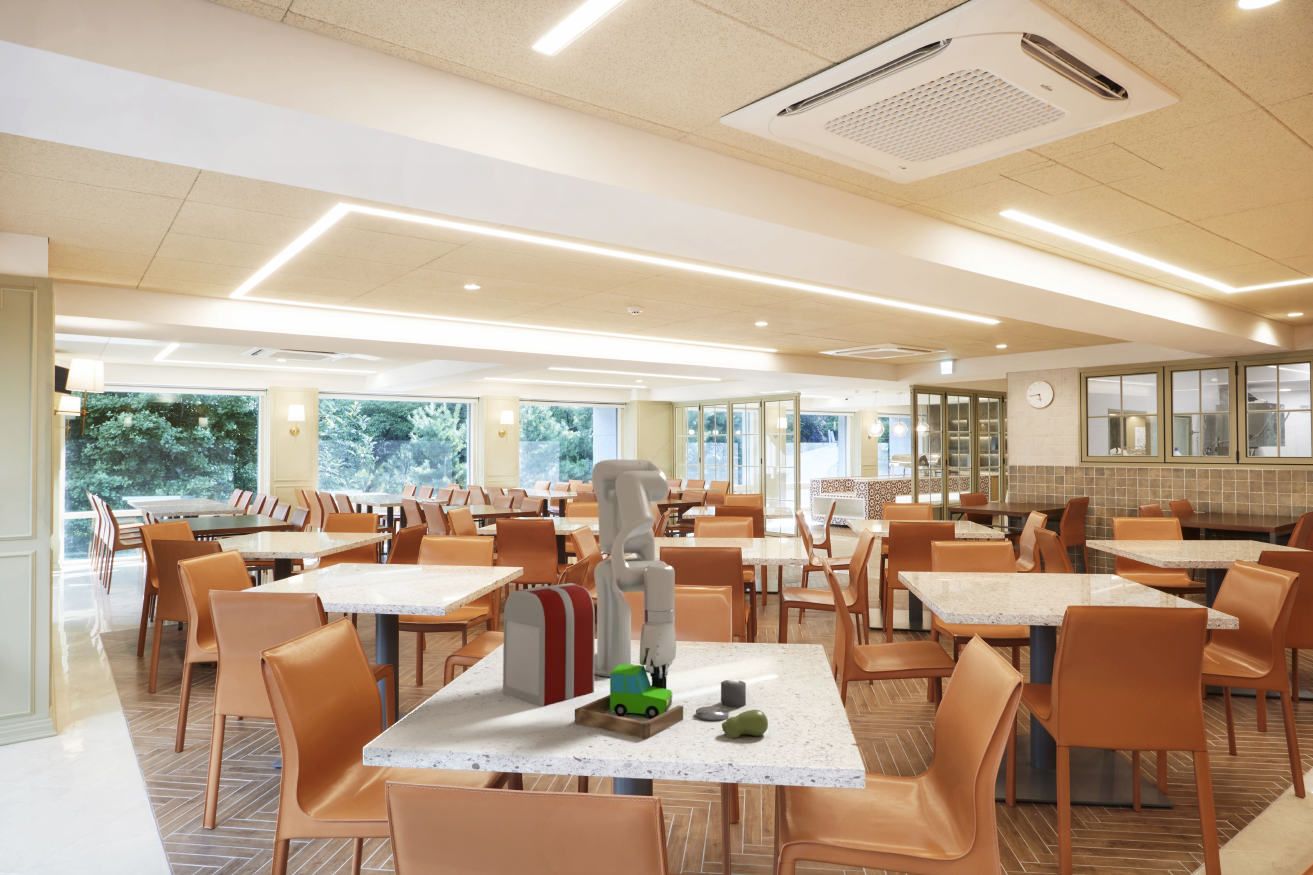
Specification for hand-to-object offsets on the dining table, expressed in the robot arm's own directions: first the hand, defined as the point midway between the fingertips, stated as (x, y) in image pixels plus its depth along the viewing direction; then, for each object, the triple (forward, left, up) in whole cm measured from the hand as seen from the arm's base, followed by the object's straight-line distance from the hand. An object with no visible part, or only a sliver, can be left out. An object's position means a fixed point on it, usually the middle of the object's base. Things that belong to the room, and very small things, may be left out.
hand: (659, 693), depth 185 cm
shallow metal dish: (+14, +1, -3) cm, 14 cm away
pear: (+26, -7, -4) cm, 27 cm away
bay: (0, -12, -3) cm, 12 cm away
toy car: (-1, -6, -4) cm, 7 cm away
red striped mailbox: (-30, -5, -4) cm, 31 cm away
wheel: (+14, +12, -3) cm, 19 cm away
